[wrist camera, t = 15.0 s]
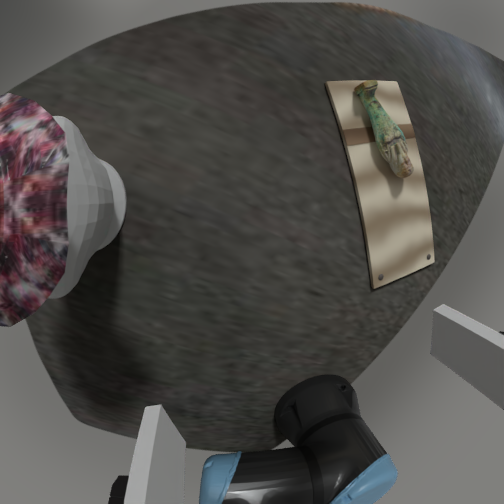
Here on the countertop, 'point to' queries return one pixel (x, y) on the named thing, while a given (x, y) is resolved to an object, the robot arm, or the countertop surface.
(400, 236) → the board
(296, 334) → the countertop surface
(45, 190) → the bust with hat
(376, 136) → the figurine
